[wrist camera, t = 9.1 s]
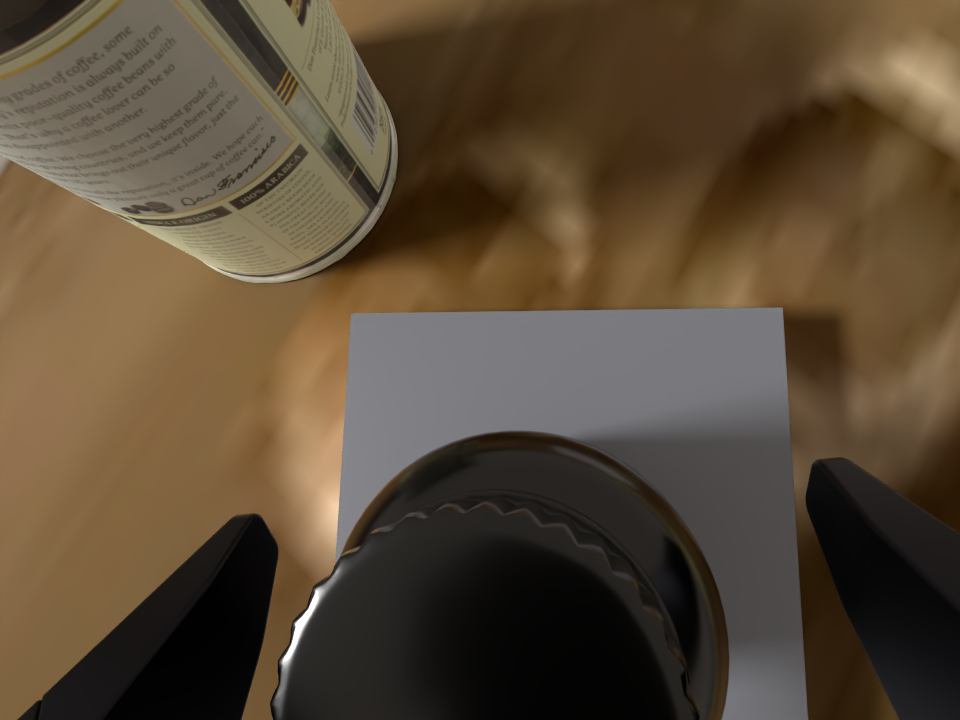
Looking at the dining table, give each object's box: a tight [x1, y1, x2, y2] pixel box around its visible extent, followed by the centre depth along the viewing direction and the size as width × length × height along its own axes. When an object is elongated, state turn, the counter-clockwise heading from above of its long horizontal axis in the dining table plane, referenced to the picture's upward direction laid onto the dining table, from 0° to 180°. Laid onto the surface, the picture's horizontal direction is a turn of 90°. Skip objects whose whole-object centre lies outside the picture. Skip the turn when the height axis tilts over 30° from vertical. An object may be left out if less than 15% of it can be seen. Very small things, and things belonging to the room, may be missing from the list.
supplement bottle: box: [270, 431, 730, 720], centre depth 12 cm, size 7×7×12 cm
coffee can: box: [0, 0, 398, 283], centre depth 17 cm, size 10×10×14 cm
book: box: [335, 308, 808, 720], centre depth 19 cm, size 20×14×3 cm
